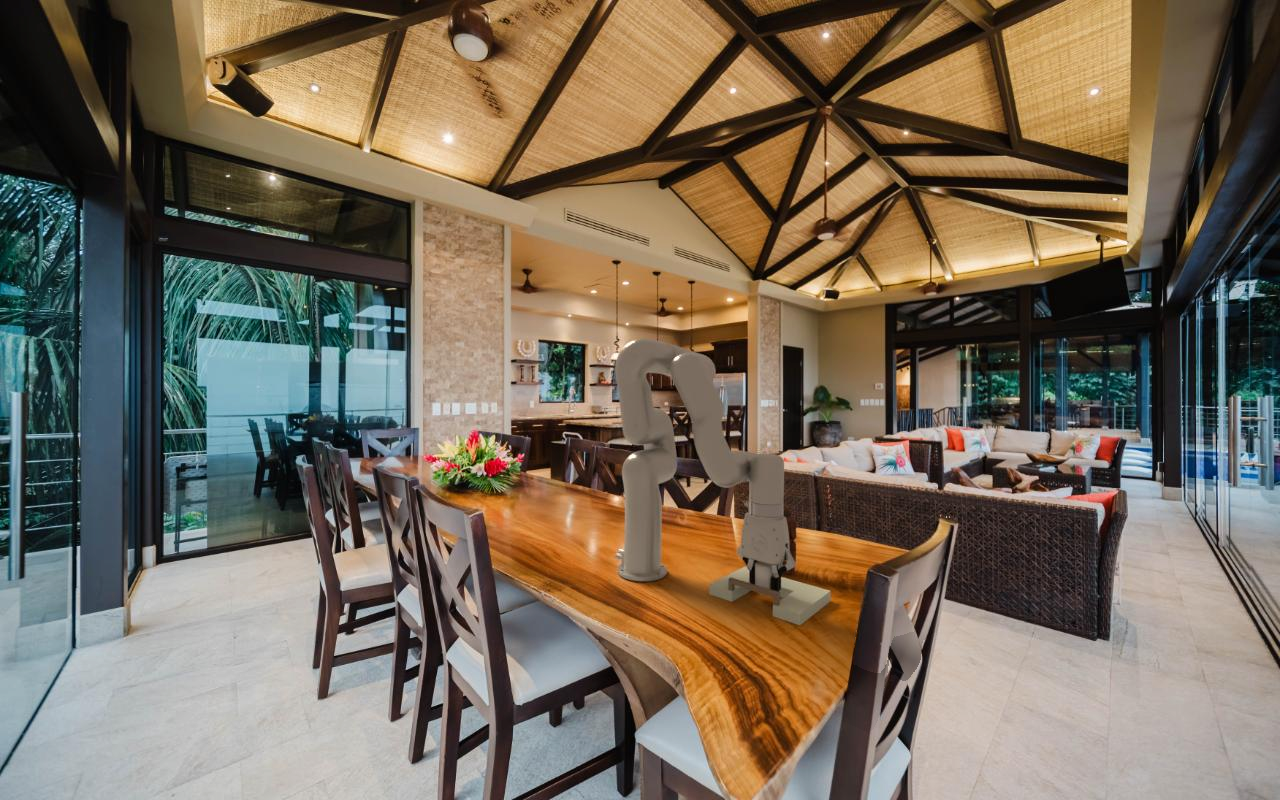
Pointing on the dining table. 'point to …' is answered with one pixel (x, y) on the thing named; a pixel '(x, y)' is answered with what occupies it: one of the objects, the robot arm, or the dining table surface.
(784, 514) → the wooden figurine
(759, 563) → the white cylinder
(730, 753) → the dining table surface
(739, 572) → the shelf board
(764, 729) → the dining table surface
